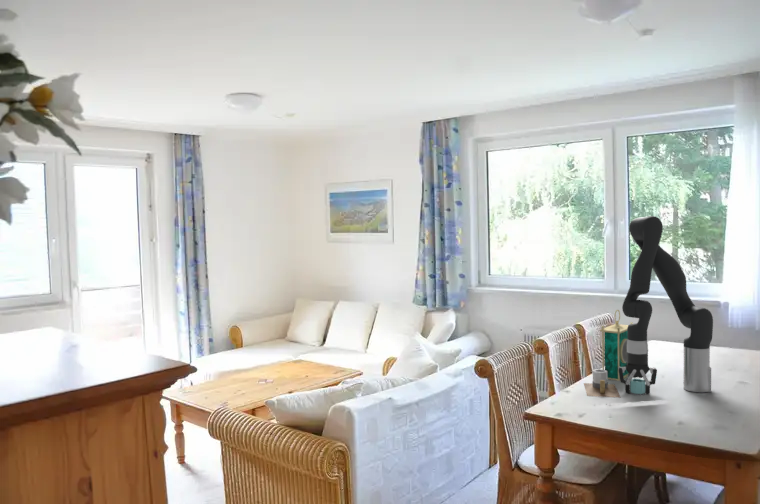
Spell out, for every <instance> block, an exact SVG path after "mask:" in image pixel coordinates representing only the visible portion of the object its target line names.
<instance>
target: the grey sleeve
mask: <svg viewBox="0 0 760 504" xmlns="http://www.w3.org/2000/svg"><path fill="white" fill-rule="evenodd" d="M600 380H605V389H606V388H607V387H608V384H609V381H608V380H609V379H608V376H607V371H606V370H605V369H604V370H602V369H600V368H599V369H598V368H596V369H593V370H592V386H593V387H594V388H598V389H600Z"/></svg>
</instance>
